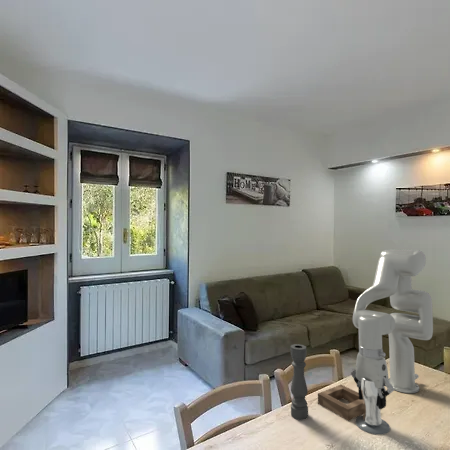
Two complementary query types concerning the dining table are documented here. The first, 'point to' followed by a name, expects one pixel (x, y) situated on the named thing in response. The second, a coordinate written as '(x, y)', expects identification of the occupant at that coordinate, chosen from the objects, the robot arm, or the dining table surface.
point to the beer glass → (370, 403)
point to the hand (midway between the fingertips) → (371, 402)
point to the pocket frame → (346, 411)
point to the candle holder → (299, 383)
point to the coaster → (381, 429)
